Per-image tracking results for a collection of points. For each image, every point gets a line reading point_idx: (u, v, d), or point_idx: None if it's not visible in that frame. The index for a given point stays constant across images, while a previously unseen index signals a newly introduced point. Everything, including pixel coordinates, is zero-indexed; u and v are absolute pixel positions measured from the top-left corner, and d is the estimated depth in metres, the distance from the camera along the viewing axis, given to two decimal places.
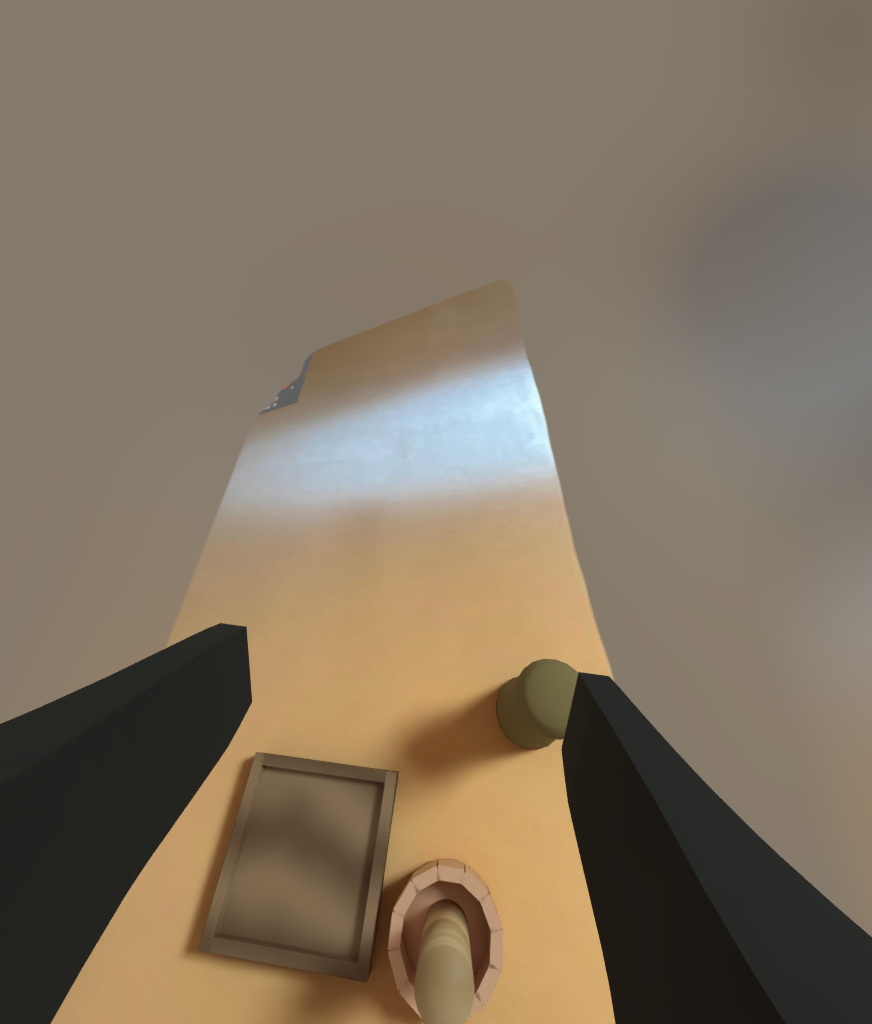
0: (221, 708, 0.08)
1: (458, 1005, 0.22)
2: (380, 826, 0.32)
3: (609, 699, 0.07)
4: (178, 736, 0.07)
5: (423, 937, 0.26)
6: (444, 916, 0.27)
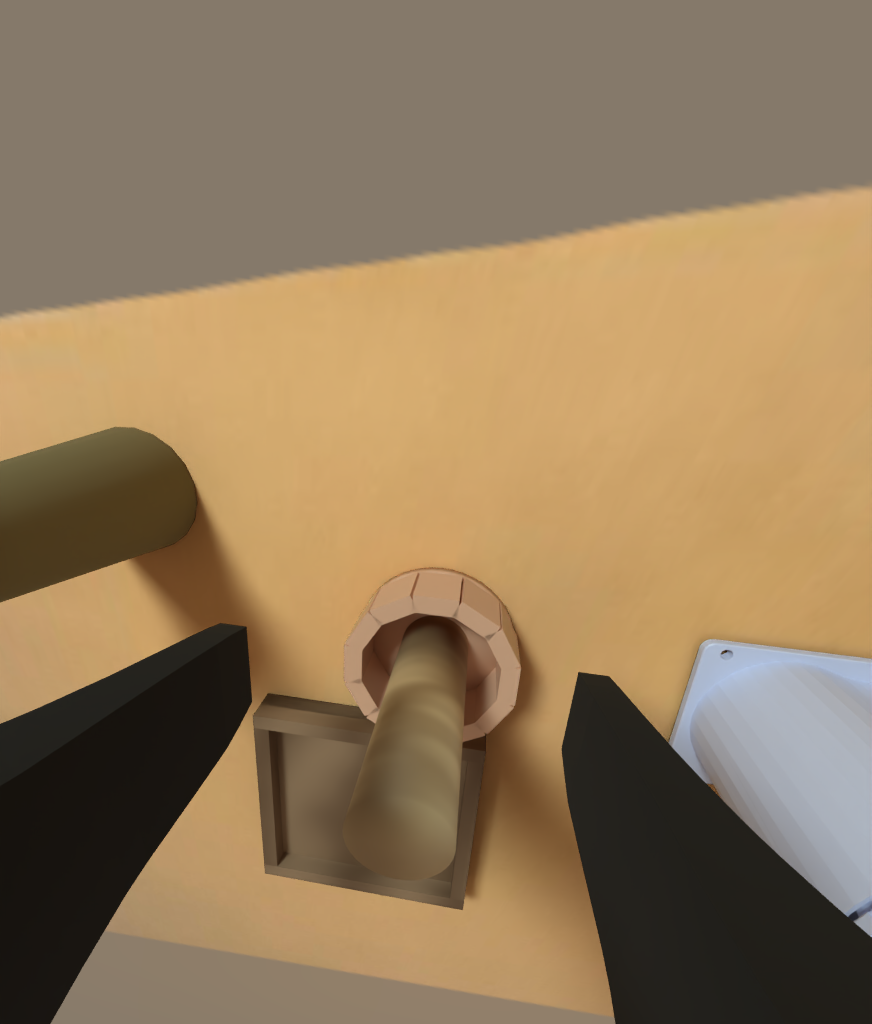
0: (221, 708, 0.08)
1: (419, 822, 0.11)
2: (321, 735, 0.21)
3: (609, 699, 0.07)
4: (178, 736, 0.07)
5: None
6: None
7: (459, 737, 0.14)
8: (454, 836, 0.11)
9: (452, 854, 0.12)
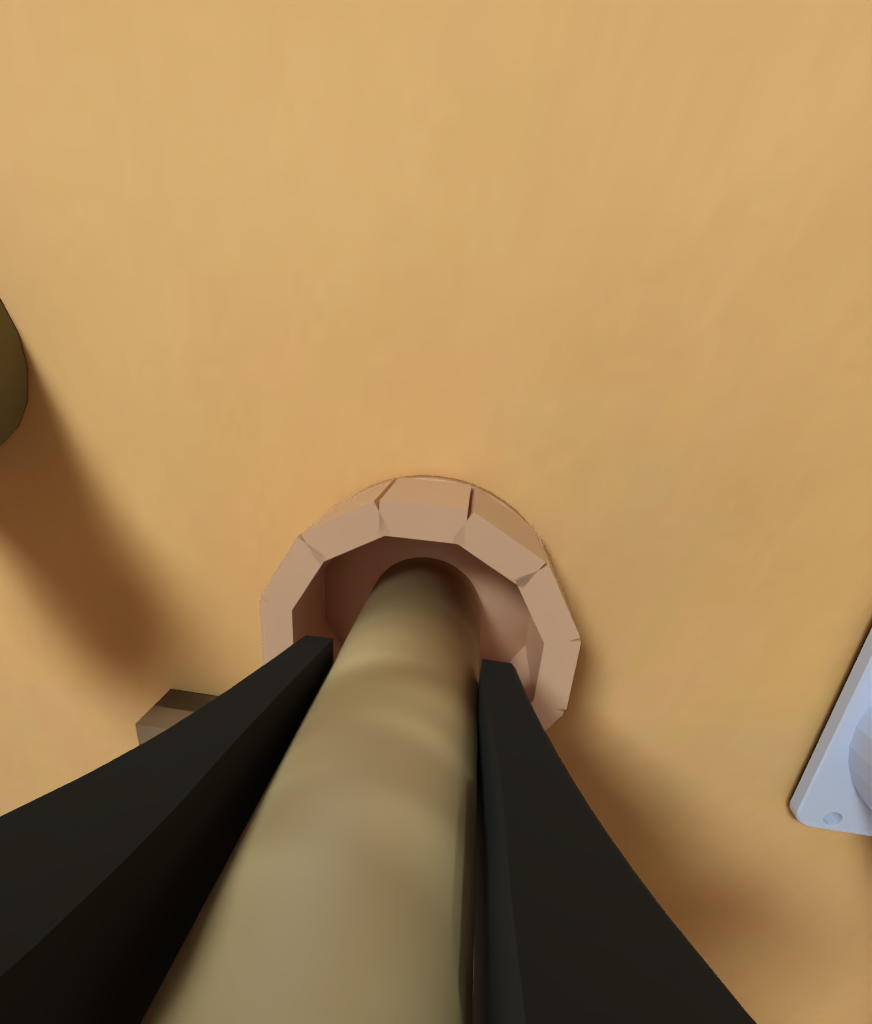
0: None
1: None
2: None
3: (498, 683, 0.07)
4: (284, 753, 0.07)
5: None
6: None
7: (471, 784, 0.06)
8: None
9: None
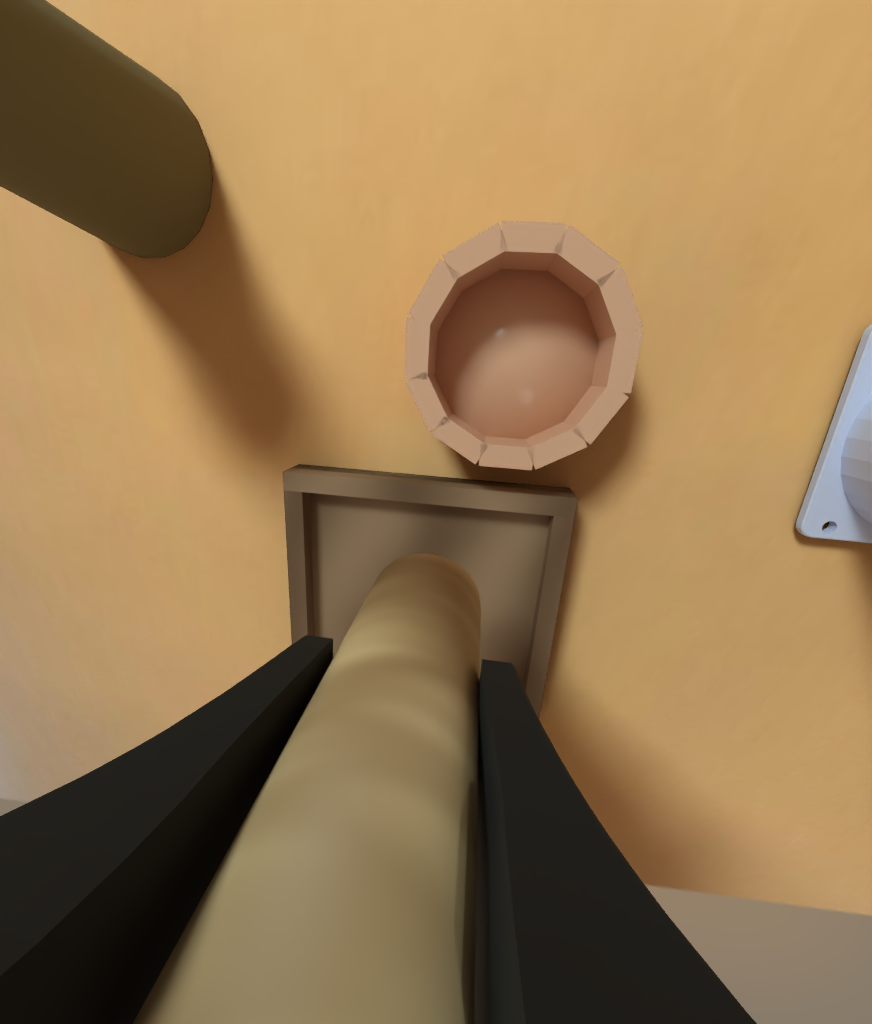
0: None
1: None
2: (368, 494, 0.17)
3: (499, 684, 0.07)
4: None
5: None
6: None
7: (473, 778, 0.06)
8: None
9: None
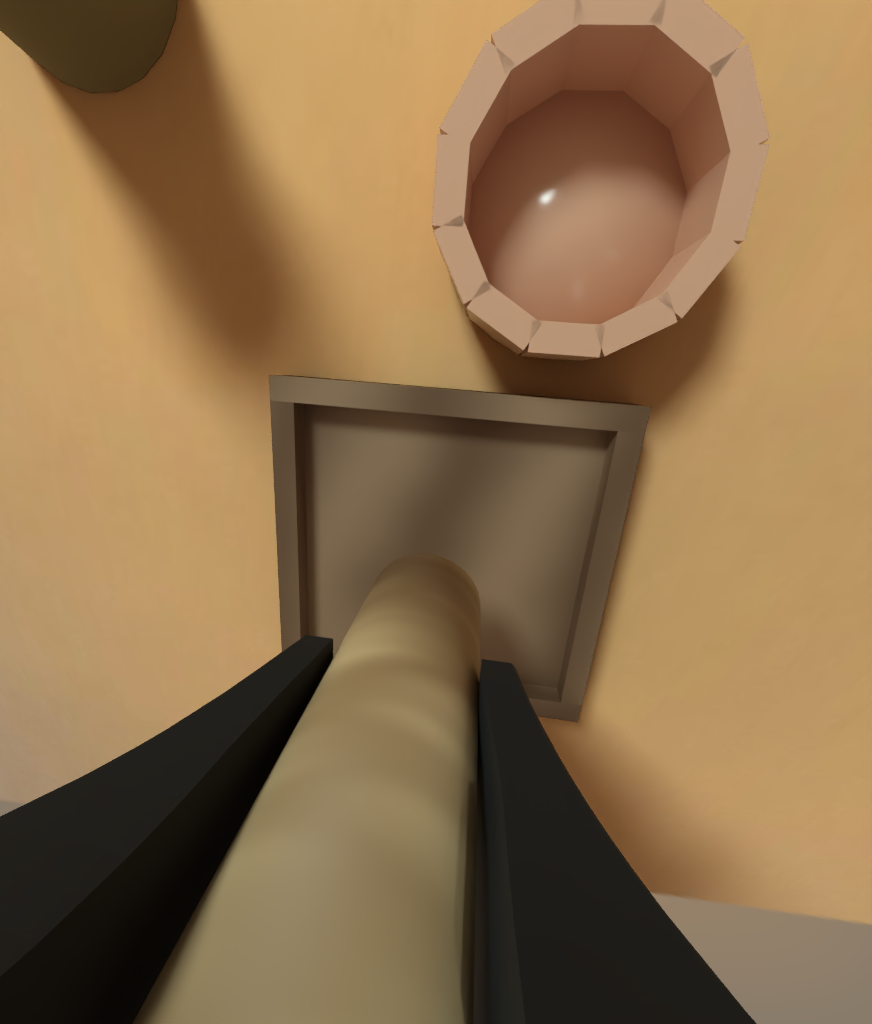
0: None
1: None
2: (378, 404, 0.13)
3: (498, 683, 0.07)
4: None
5: None
6: None
7: (472, 779, 0.06)
8: None
9: None
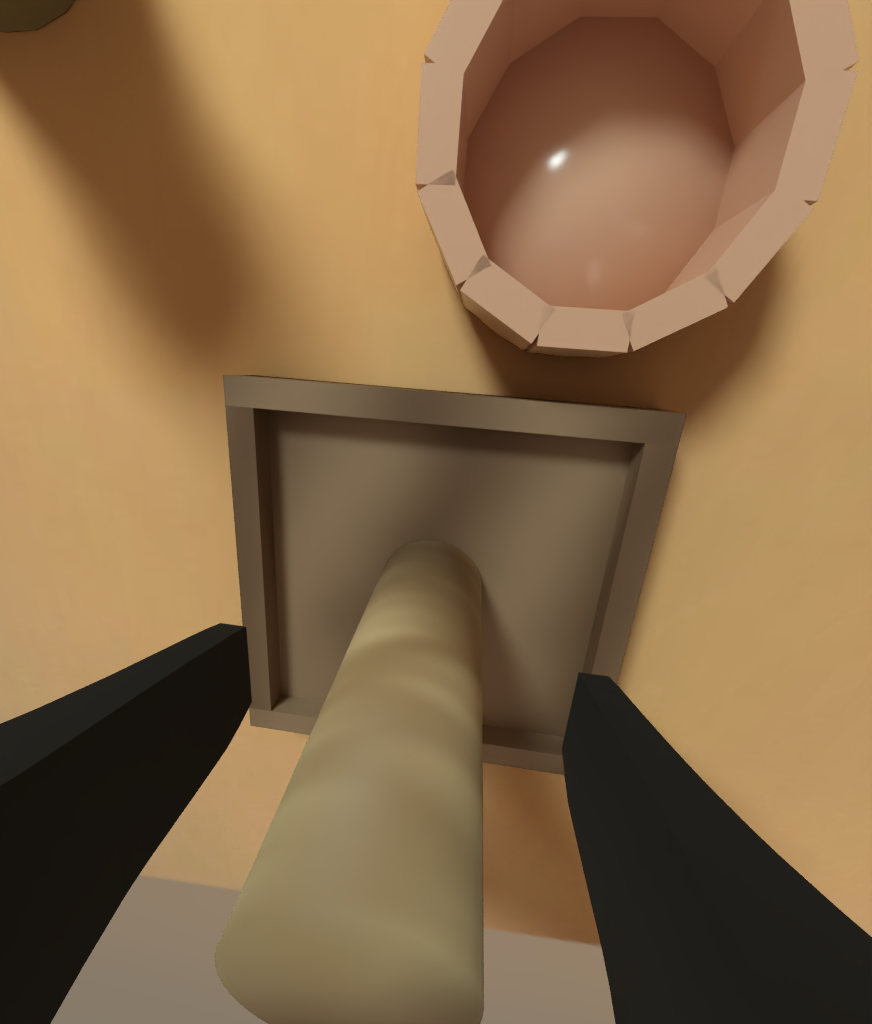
0: (221, 708, 0.08)
1: (395, 963, 0.05)
2: (354, 410, 0.11)
3: (609, 699, 0.07)
4: (178, 736, 0.07)
5: None
6: None
7: (478, 737, 0.07)
8: (481, 992, 0.05)
9: None
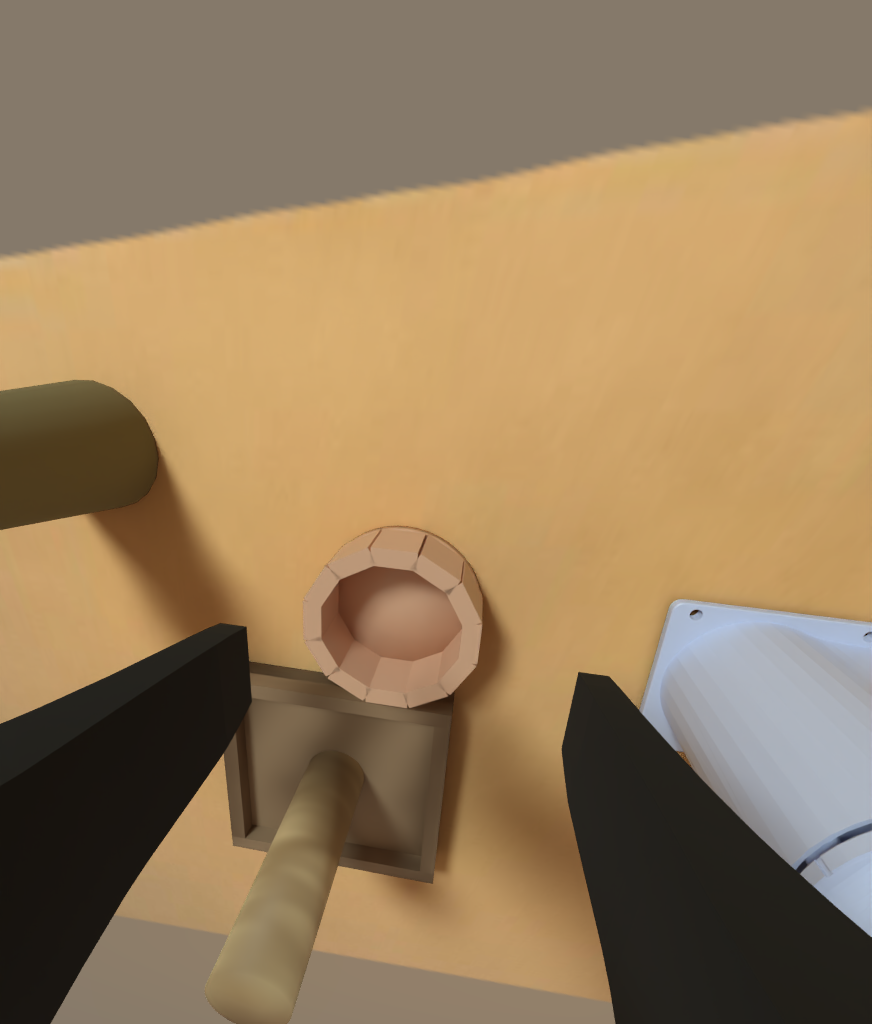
0: (221, 708, 0.08)
1: (262, 991, 0.14)
2: (285, 700, 0.21)
3: (609, 699, 0.07)
4: (178, 736, 0.07)
5: None
6: None
7: (322, 893, 0.17)
8: (290, 1003, 0.14)
9: (289, 1015, 0.15)
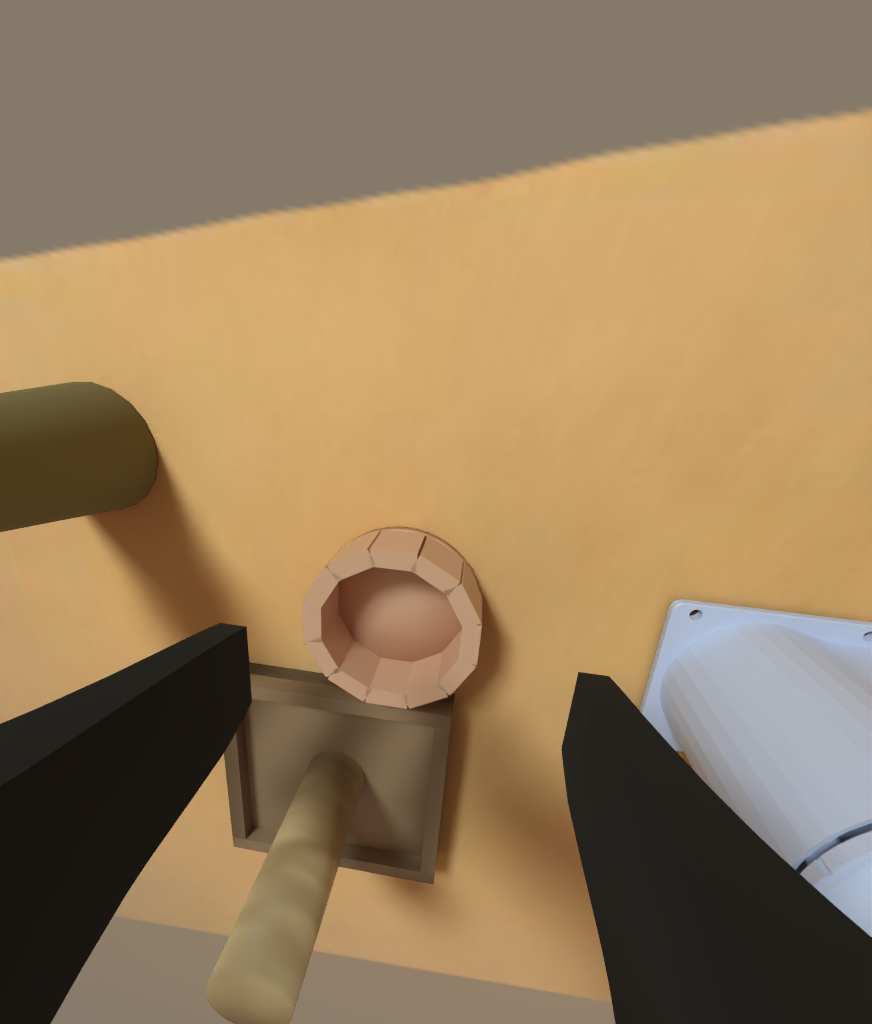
0: (221, 708, 0.08)
1: (262, 993, 0.14)
2: (285, 701, 0.21)
3: (609, 699, 0.07)
4: (178, 736, 0.07)
5: None
6: None
7: (322, 894, 0.17)
8: (290, 1004, 0.14)
9: (290, 1016, 0.15)
